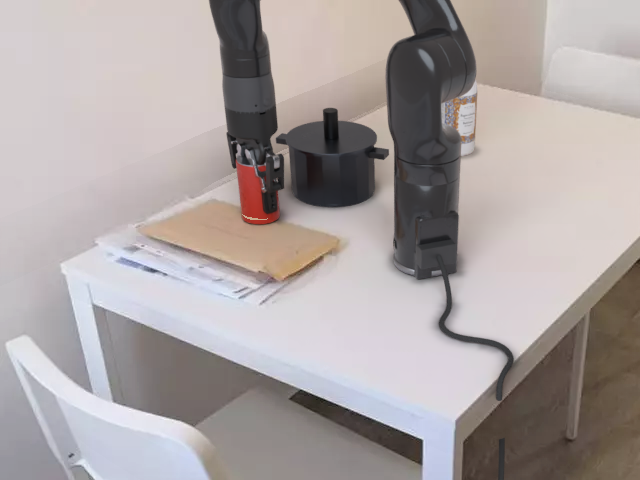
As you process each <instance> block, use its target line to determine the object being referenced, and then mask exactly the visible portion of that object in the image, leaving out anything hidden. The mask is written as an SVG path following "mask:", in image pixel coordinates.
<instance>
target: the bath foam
mask: <svg viewBox="0 0 640 480" xmlns="http://www.w3.org/2000/svg"><path fill="white" fill-rule="evenodd" d="M477 108H478V84H477V79H475V82H474V84H473V87H472V88H471V89H470V91H469V92H467V93H466V94H464V95H462V96H460V97H458V98H455V99H452V100H450V101H448V102H445V103H442V104H441V114H442V123H443V124H446V125H449V126H451V127H453V128H455V129H456V130H457V131H458V132H459V133H460V136H461V157H464V156H467V155H468V156H469V155H470V154H472V153H473V152H475V148H476V147H475V145H476V129H477V110H478V109H477Z"/></svg>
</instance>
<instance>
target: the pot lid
mask: <svg viewBox="0 0 640 480" xmlns="http://www.w3.org/2000/svg"><path fill="white" fill-rule="evenodd" d="M286 134H287V135H286V143H287V145H286V146H288V148H289V147H290V148H291V149H293V150H295V151H297V152H299V153H302V154H306V155H311V156H319V157H341V156H349V155H354V154H358V153H361V152H364V151H366V150H368V149H370V148H372V147H373V146H374V147H375V145H376V144H377V142H378V135H377V133H376V131H374V129H372V128H371V127H369V126H367V125H364V124H361V123H358V122H353V121H347V120H339V110H338V108H336V107H325V108H323V109H322V120H318V121H311V122H306V123H304V124H300V125H297V126H295V127H294V128H291V129H290V130H289V131H288V132H287V133H286Z"/></svg>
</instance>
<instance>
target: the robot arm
mask: <svg viewBox="0 0 640 480" xmlns="http://www.w3.org/2000/svg"><path fill="white" fill-rule="evenodd" d="M261 1H262V0H208V4H209V9H210V14H211V17H212V21H213V24H214V28H215V32H216V35H217V37H218V41H219V43H218V44H219V57H220V65H221V73H222V74H221V75H222V83H221V85H222V86H221V88H222V97H223V105H224V106H223V107H224V113H225V115H224V116H225V122H226V130H227V131H226V140H227V145H228V152H229V157H230V164H231V167H232V168H233V169H234V170H237V169H236V159H237V157H238V156H240V157H241V158H242V157H246V158H247V159H248V160H249V161H250V164H251V165H253V167H254V175H255V177H256V178H258V179H259V183H260V187H261V190H262V191H261V194H262V204H263V211H264V212H265V213H266V214H270V213H273V212H276V211H277V210H278V206H277V195H276V191H278V192H279V191H283V190H284V189H285V156H284V154H283V153H275V152H274V148H273V145H272V141H271V138H272V137H273V136H274V135H275V134H276V133H277V131H278V129H279V124H278V112H277V102H276V101H277V100H276V90H275V82H274V77H273V72H272V61H271V50H270V43H269V39H268V35H267V34H266V32H265V31H264V30H263V21H262V14H261V13H262V12H261ZM398 2H399V4H400V5H401V7H402V9H403V11H404V13H405V15H406V17H407V19H408V22H409V25H410V27H411V29H412V33H413V35H410V36H406V37H404V38H401V39H399V40H398V41H396V42H395V43H394V44H393V45H392V46H391V48H390V49H389V51H388V54H387V58H386V63H385V76H384V77H385V79H384V80H385V94H386V95H385V96H386V113H387V125H388V130H389V133H390V136H391V139H392V143H393V201H394V202H393V215H394V216H393V242H392V247H393V248H392V249H393V250H394V251H393V264H394V266H395V267H396V268H397V269H398V270H399V271H401V272H402V273H405V274H407V275H410V276H413V277H415V278H416V279H417V280H422V279H428V278H433V277H439V276H442V280H443V284H444V289H445V297H446V307H445V310H444V312H443V313H442V315H441V316H440V318H439V320H438V326H439V329H440V330H441V332H442V333H444V335H446V336H447V337H450V338H452V339H455V340H458V341H463V342H470V343H475V344H482V345H488V346H492V347H495V348H498V349H499V350H501V351H502V352H503V353H504V354H505V355H506V356H507V362H506V364H504V366H503V368H502V370H501V371H500V373H499V376H498V379H497V382H496V389H495V400H496V401H498V402H501V401H502V400H503V387H504V381H505V379H506V377H507V374H508V372H509V371H510V370H511V368H512V367H513V364H514V361H515V357H514V353H513V352H512V350H511V349H510V348H509V347H508V346H506V345H505V344H503V343H502V342H499V341H496V340H493V339H489V338H483V337H478V336H472V335H471V336H470V335H465V334H459V333H456V332H454V331H451V330H450V329H449V328H447V327H446V325H445V321H446V320H447V318H448V317H449V315H450V313H451V310H452V306H453V298H452V296H453V295H452V288H451V284H450V279H449V275H448V274H454V273H457V272H458V249H459V247H458V245H459V223H460V215H459V211H460V208H459V207H460V206H459V205H460V186H461V185H460V182H461V163H462V156H461V136H460V133H459V132H458V131H457V130H456V129H455V128H453V127H451V126H449V125H446V124H443V123H442V114H441V104H442V103H445V102H448V101H450V100H452V99H455V98H458V97H460V96H462V95H464V94H466V93H467V92H469V91H470V89H471V88H472V87H473V84H474V82H475V79H476V78H477V60H476V55H475V51H474V49H473V46H472V43H471V41H470V38H469V36H468V34H467V32H466V30H465V28H464V25H463V23H462V21H461V18H460V17H459V15H458V13H457V11H456V9H455V6H454V5H453V2H452V1H451V0H398ZM476 80H477V79H476ZM263 164H265V166H266V171H263V172H261V171H259V169H258V166H257V165H263ZM264 176H266V183H265V179H264ZM276 178H277V179H276ZM505 444H506V438H505V437H501V438H499V439H498V469H497V470H498V473H497V480H505V456H506V455H505V453H506V452H505V450H506V449H505V448H506V445H505Z"/></svg>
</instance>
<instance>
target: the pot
mask: <svg viewBox="0 0 640 480" xmlns="http://www.w3.org/2000/svg"><path fill="white" fill-rule="evenodd" d="M286 135H287V133H285V132H284V133H283V132H282V133H280V134H278V135H277V136H276V137H275V144H277V145H285V146H288V145H287V143H286ZM288 155H289V157H288V158H289V168H290V169H289V170H290V171H289V172H290V183H291V192H292V194H293V196H294V197H295V198H296V199H297V200H298V201H300V202H302V203H304V204H307V205H309V206H310V205H311V206H313V207H314V206H315V207H319V208H320V207H321V208H345V207H349V206H355V205H358V204H362V203H364V202H365V201H368V200H369V199H370V198H372V197H373V195H374V194H375V191H376V170H375V169H376V167H375V164H376V163H375V160H381V161H385V160H386V159H387V158H388V157H389V156H390V149H389V148H383V147H377V146H375V145H374V146H373V147H372V148H370V149H368V150H366V151H364V152H361V153H358V154H354V155H349V156H341V157H319V156H311V155H306V154H302V153H299V152H297V151H295V150H293V149H291V148H290V147H289V146H288Z"/></svg>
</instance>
